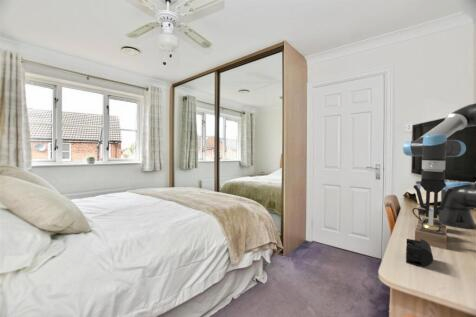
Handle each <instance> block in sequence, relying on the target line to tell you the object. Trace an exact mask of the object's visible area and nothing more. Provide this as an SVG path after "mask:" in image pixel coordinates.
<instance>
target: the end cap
mask: <svg viewBox="0 0 476 317" xmlns="http://www.w3.org/2000/svg"><path fill="white" fill-rule="evenodd" d="M431 247H432V246H430V245H429V244H428V243H427V242H426V241H425V240H422V239H420V241H416V240H415V239H410V238H406V248H405V251H406V252H405V263H406V264H409V265H413V266H416V267H422V268H424V267H428V266H430V265H431V264H432V263H433V262H434V256H433V252H432V248H431Z"/></svg>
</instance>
